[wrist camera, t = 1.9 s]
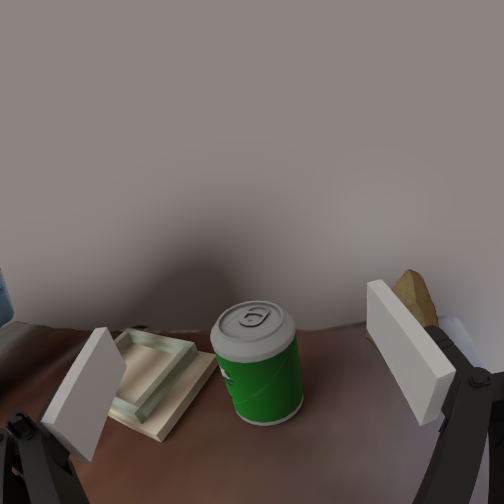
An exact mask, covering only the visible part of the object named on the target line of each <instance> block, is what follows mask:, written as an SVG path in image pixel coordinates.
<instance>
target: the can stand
mask: <svg viewBox="0 0 504 504" xmlns="http://www.w3.org/2000/svg"><path fill="white" fill-rule="evenodd" d="M114 343H115V345H116V347H117V349H118V350H119V352H120V354H121V356H122V358H123V360H124V362H125V364H126V365H127V368H126V370H125V373H124V375H123V378H122V380H121V383H120V385H119V388H118V390H117V393H116V395H115V398H114V400H113V403H112V405H111V408H110V410H109V413H108V416H110V417H112V418H113V419H115V420H117V421H119V422H121V423H123V424H124V425H126V426H128V427H130V428H132V429H134V430H136V431H138V432H140V433H142V434H144V435H146V436H148V437H151V438H153V439H155V440H157V441H159V442H161V443H162V441H163V440H164V439H165V437H166V436H167V435H168V433H169V432H170V431H171V429H172V428H173V427H174V425H175V424H176V423H177V421H178V420H179V419H180V417H181V416H182V414H183V413H184V412H185V410H186V409H187V408H188V406H189V405H190V403H191V402H192V401H193V399H194V398H195V397H196V395H197V394H198V392H199V391H200V390H201V388H202V387H203V385H204V384H205V383H206V381H207V380H208V378H209V377H210V375H211V374H212V373H213V371H214V370H215V368H216V367H217V366H218V364H219V363H218V360H217V357H216V354H211V353H206V352H201V351H198V350H197V348H196V345H195V343H194V342H189V341H184V340H179V339H174V338H169V337H165V336H160V335H156V334H151V333H147V332H142V331H138V330H134V329H130V328H127V329H126V330H125V331H124V332H123V333H122V334H121V335H120V336H118V337H117V338H116V339H115V340H114Z"/></svg>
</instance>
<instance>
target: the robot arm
mask: <svg viewBox="0 0 504 504" xmlns="http://www.w3.org/2000/svg"><path fill="white" fill-rule="evenodd" d="M13 315H14V311H13V307H12V304H11V300H10V297H9V294H8V291H7V288H6V285H5V281H4V278H3V276H2V272H1V269H0V328H1V327H2V325H4V324H6V323H7V322H9V321H10V320H11V319H12V318H13ZM367 330H368V332H369V333H370V335H371V337H372V339H373V340H374V342H375V344H376V345H377V347H378V349H379V351H380V352H381V354H382V356H383V358H384V359H385V361H386V363H387V365H388V367H389V368H390V370H391V372H392V374H393V376H394V377H395V379H396V381H397V383H398V385H399V386H400V388H401V390H402V392H403V394H404V396H405V398H406V399H407V401H408V403H409V405H410V407H411V409H412V411H413V413H414V415H415V417H416V419H417V421H418V422H419V424H420V426H422V425H425V424H427V423H429V422H432V421H434V420H436V419H438V416H439V414H440V412H441V410H442V412H443V414H444V415H445V419H444V421H443V423H442V425H441V427H440V430H439V432H440V435H439V438H438V441H437V444H436V447H435V450H434V452H433V455H432V458H431V461H430V463H429V466H428V468H427V471H426V473H425V476H424V478H423V481H422V483H421V485H420V488H419V490H418V492H417V494H416V497H415V499H414V501H413V503H412V504H469V501H470V498H471V495H472V492H473V489H474V486H475V482H476V479H477V475H478V472H479V468H480V464H481V460H482V456H483V452H484V447H485V442H486V437H487V432H488V437H489V495H488V504H504V372H499V373H494V374H491V373H490V372H489V371H487V370H486V369H483V368H480V367H473V366H472V365H471V363H470V362H469V361H468V360H467V358H466V357H465V356H464V355H463V354H462V352H461V351H460V350H459V349H458V348H457V346H456V345H454V343H453V342H452V340H451V339H449V337H448V336H447V335H446V333H445V332H444V331H443V330H442V329H440V328H438V327H436V326H435V325H433V324H432V325H429V326H426V327H422V326H421V325H420V324H419V322H418V321H417V320H416V319H415V318H414V316H413V315H412V314H411V313H410V312H409V310H408V309H407V308H406V307H405V306H404V305H403V303H402V302H401V301H400V300H399V299H398V298H397V296H396V295H395V294H394V293H393V292H392V291H391V290H390V288H389V287H388V286H387V285H386V284H385V283H384V282H383V281H382V279H380V280H376V281H372V282H368V283H367ZM126 368H127V365H126V364H125V362H124V360H123V358H122V356H121V354H120V352H119V350H118V349H117V347H116V345H115V343H114V341H113V339H112V337H111V335H110V333H109V331H108V329H107V327H104V328H96V329H95V330H94V331H93V333H92V334H91V336H90V338H89V339H88V341H87V342H86V344H85V345H84V347H83V349H82V350H81V352H80V354H79V355H78V357H77V358H76V360H75V362H74V363H73V365H72V367H71V368H70V370H69V372H68V373H67V375H66V377H65V379H64V380H63V381H61V382H60V383H59V384H58V385H57V386H56V387H55V389H54V390H53V392H52V394H51V397H49V399H48V401H47V403H46V404H45V406H44V408H43V410H42V412H41V414H40V415H39V417H38V419H37V421H36V423H34V422H33V420H32V419H31V418H30V417H29V416H28V415H27V413H26V412H24V411H17V412H15V413H13V414H12V415H11V416H10V417H9V418H8V420H7V423H6V427H7V428H8V429H9V431H10V432H11V433H12V434H13V435H10V434H9V433H8V432H7V431H6V430H5V429H4V428H0V504H90V503H89V501H88V499H87V497H86V494H85V492H84V490H83V488H82V486H81V483H80V481H79V479H78V476H77V474H76V471H75V469H74V466H73V464H72V462H71V460H70V459H69V458H68V457H69V454H70V453H71V454H72V455H73V456H74V457H75V458H76V459H77V460H79V461H84V462H90V463H91V460H92V457H93V454H94V451H95V449H96V446H97V443H98V440H99V437H100V435H101V432H102V429H103V426H104V424H105V421H106V418H107V416H108V413H109V410H110V408H111V405H112V403H113V400H114V398H115V395H116V393H117V390H118V388H119V385H120V383H121V380H122V378H123V375H124V373H125V370H126ZM12 467H13V468H14V469H15V470H16V471H17V475H15V474H14V473H13V472H12Z"/></svg>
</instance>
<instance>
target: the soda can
mask: <svg viewBox="0 0 504 504" xmlns="http://www.w3.org/2000/svg"><path fill="white" fill-rule="evenodd" d="M210 339H211V342H212V346H213V349H214V351H215V354H216V357H217V360H218V363H219V366H220V369H221V372H222V374H223V377H224V380H225V383H226V385H227V388H228V391H229V394H230V396H231V399H232V402H233V404H234V407H235V410H236V412H237V414H238V415H239V416H240V417H241V418H242V419H243V420H245V421H247V422H249V423H251V424H254V425H260V426H268V425H276V424H279V423H281V422H284V421H286V420H288V419H289V418H291V417H292V416H293V415H295V414H296V412H297V411H298V410H299V408H300V407H301V405H302V401H303V398H304V397H303V388H302V379H301V371H300V362H299V354H298V346H297V338H296V331H295V324H294V319H293V317H292V316H291V315H290V314H289V312H288V311H286V310H284V309H282V308H280V307H279V306H278V305H276V304H274V303H272V302H268V301H249V302H244V303H241V304H237V305H235V306H233V307H231V308H229V309H228V310H226V311H225V312H224V313H223V314H221V316H220V317H219V319H218V320H217V323H216V324H215V325H214V327H213V328H212V331H211V336H210Z"/></svg>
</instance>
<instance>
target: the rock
mask: <svg viewBox="0 0 504 504" xmlns="http://www.w3.org/2000/svg"><path fill="white" fill-rule="evenodd" d="M391 291H392V292H393V293H394V294H395V295H396V296H397V298H398V299H399V300H400V301H401V302H402V303H403V305H404V306H405V307H406V308H407V309H408V310H409V312H410V313H411V314H412V315H413V316H414V318H415V319H416V320H417V321H418V322H419V324H420V325H421V326H422V327H426V326H429V325H432V324H433V325H435V326H436V327H438V328H439V324H438V318H437V315H436V310H435V306H434V304H433V302H432V301H431V298H430V295H429V292H428V289H427V287H426V285H425V282H424V280H423V278H422V276H421V275H420V274H419V273H417V272H415V271H412V270H407V271H405V273H404V274H403V276H402V277H401V278H400V280H399V281H397V283H396V285H395V286H394V287H393V288H392V290H391ZM365 337H366V338H369V339H370V340H371V341H372V343H374V345H375V347H376V348H377V349H378V347H377V345H376V344H375V342H374V340H373V339H372V337H371V335H370V333H369V332H368V331H367V332H366V334H365ZM378 351H379V349H378Z"/></svg>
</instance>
